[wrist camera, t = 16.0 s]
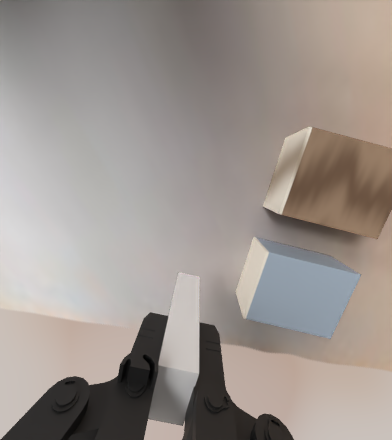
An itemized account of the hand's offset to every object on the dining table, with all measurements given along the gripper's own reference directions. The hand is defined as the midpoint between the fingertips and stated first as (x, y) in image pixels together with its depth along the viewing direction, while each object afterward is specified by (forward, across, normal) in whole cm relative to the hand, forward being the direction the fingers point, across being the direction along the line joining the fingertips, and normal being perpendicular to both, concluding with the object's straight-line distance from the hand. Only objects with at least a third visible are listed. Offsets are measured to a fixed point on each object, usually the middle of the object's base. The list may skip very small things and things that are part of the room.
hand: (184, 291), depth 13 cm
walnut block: (+9, +7, +10) cm, 15 cm away
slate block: (+9, +7, -2) cm, 12 cm away
